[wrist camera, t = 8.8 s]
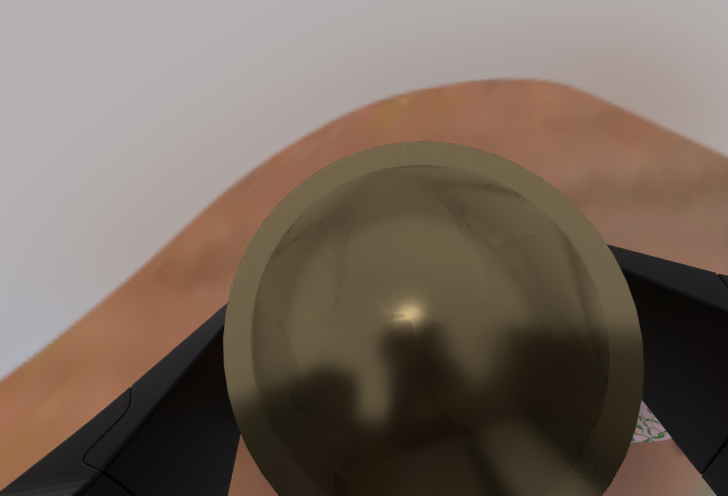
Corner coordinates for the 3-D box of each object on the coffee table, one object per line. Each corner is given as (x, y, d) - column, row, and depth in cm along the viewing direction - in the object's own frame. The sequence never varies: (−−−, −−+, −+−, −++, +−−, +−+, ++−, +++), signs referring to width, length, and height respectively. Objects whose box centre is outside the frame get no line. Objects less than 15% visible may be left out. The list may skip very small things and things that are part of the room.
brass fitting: (471, 308, 17) (714, 262, 4) (416, 402, 16) (512, 702, 3) (383, 253, 18) (362, 86, 5) (327, 338, 17) (144, 382, 4)
